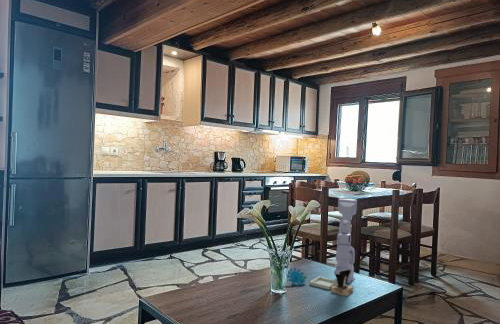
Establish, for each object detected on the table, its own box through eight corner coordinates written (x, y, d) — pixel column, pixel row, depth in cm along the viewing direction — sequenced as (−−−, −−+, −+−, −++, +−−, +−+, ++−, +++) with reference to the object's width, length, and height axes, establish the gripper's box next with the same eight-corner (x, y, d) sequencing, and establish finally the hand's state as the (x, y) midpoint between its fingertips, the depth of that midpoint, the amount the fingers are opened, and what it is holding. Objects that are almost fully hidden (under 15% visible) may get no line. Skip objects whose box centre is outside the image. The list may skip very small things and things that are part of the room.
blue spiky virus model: (288, 284, 176) (286, 266, 183) (284, 289, 180) (282, 271, 187) (309, 286, 179) (306, 268, 186) (304, 291, 183) (302, 273, 190)
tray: (319, 279, 190) (319, 276, 190) (338, 284, 183) (338, 281, 183) (309, 284, 181) (309, 281, 181) (329, 290, 174) (329, 286, 174)
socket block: (337, 287, 179) (337, 282, 179) (352, 291, 174) (353, 286, 174) (330, 291, 172) (331, 286, 172) (346, 296, 167) (346, 291, 167)
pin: (339, 289, 176) (340, 273, 176) (347, 291, 173) (347, 275, 173) (336, 291, 173) (337, 275, 173) (344, 293, 170) (344, 277, 170)
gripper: (341, 253, 181) (340, 279, 181) (329, 259, 170) (328, 287, 170) (354, 256, 177) (353, 283, 177) (343, 262, 165) (342, 290, 165)
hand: (342, 285), depth 173 cm, fingers closed on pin, 4 cm apart
